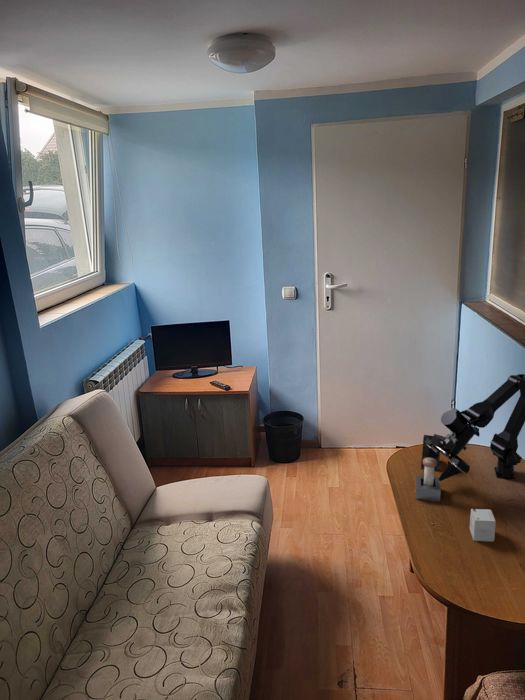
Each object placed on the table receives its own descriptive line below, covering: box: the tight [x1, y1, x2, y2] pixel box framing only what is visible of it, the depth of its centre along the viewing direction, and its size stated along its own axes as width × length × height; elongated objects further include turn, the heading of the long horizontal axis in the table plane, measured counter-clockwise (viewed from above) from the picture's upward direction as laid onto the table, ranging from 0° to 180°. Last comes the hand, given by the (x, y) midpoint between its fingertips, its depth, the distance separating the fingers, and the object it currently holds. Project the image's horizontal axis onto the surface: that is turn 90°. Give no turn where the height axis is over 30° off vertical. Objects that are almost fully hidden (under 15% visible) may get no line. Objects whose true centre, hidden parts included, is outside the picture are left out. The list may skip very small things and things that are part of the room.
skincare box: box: [469, 508, 497, 542], centre depth 158 cm, size 6×6×7 cm
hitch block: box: [415, 475, 442, 502], centre depth 181 cm, size 8×8×4 cm
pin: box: [423, 457, 437, 487], centre depth 180 cm, size 5×5×13 cm
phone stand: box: [420, 434, 441, 472], centre depth 198 cm, size 9×6×12 cm, turn 156°
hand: (431, 473), depth 179 cm, fingers open, 9 cm apart
